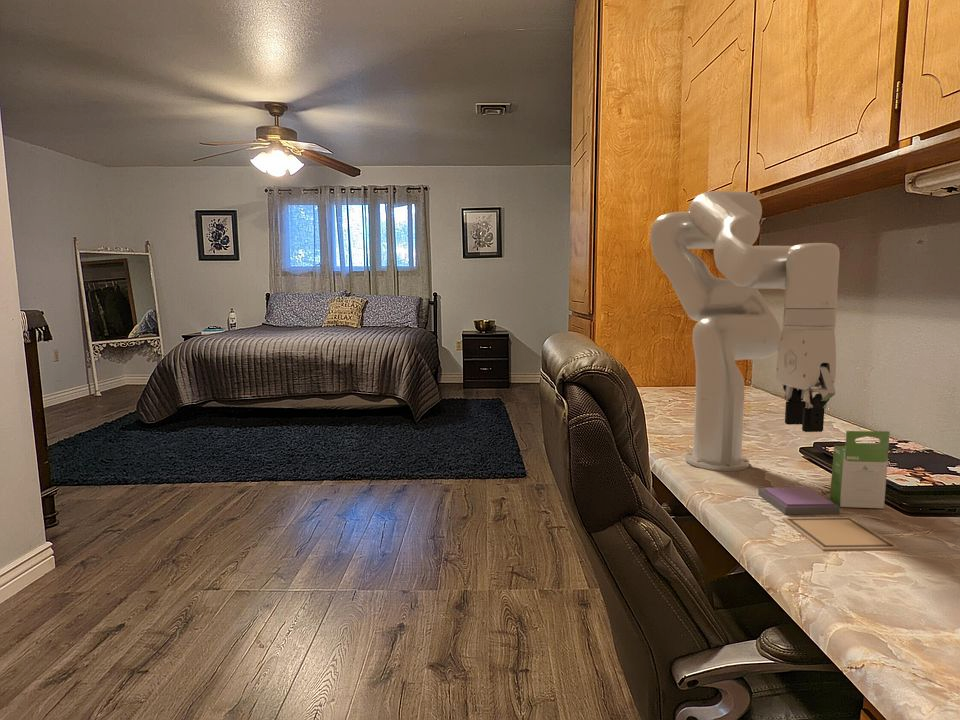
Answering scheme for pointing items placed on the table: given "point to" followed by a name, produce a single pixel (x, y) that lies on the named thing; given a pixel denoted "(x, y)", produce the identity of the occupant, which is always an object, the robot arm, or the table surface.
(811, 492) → the ink pad
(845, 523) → the marked card
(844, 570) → the table surface
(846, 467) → the ink box
